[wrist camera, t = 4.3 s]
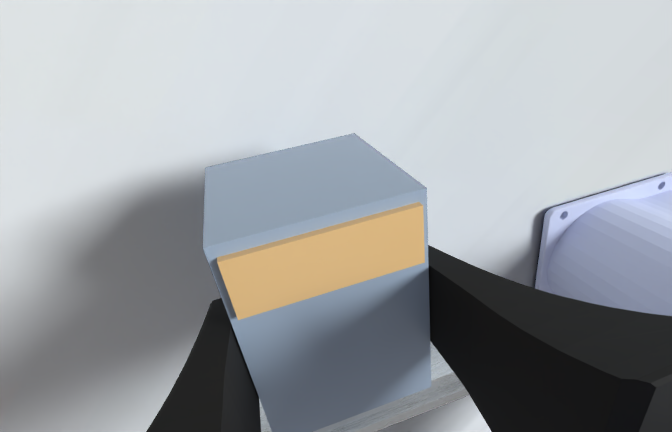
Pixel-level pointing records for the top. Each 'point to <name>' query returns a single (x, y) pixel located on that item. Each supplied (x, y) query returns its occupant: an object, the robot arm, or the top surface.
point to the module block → (322, 278)
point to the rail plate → (400, 402)
